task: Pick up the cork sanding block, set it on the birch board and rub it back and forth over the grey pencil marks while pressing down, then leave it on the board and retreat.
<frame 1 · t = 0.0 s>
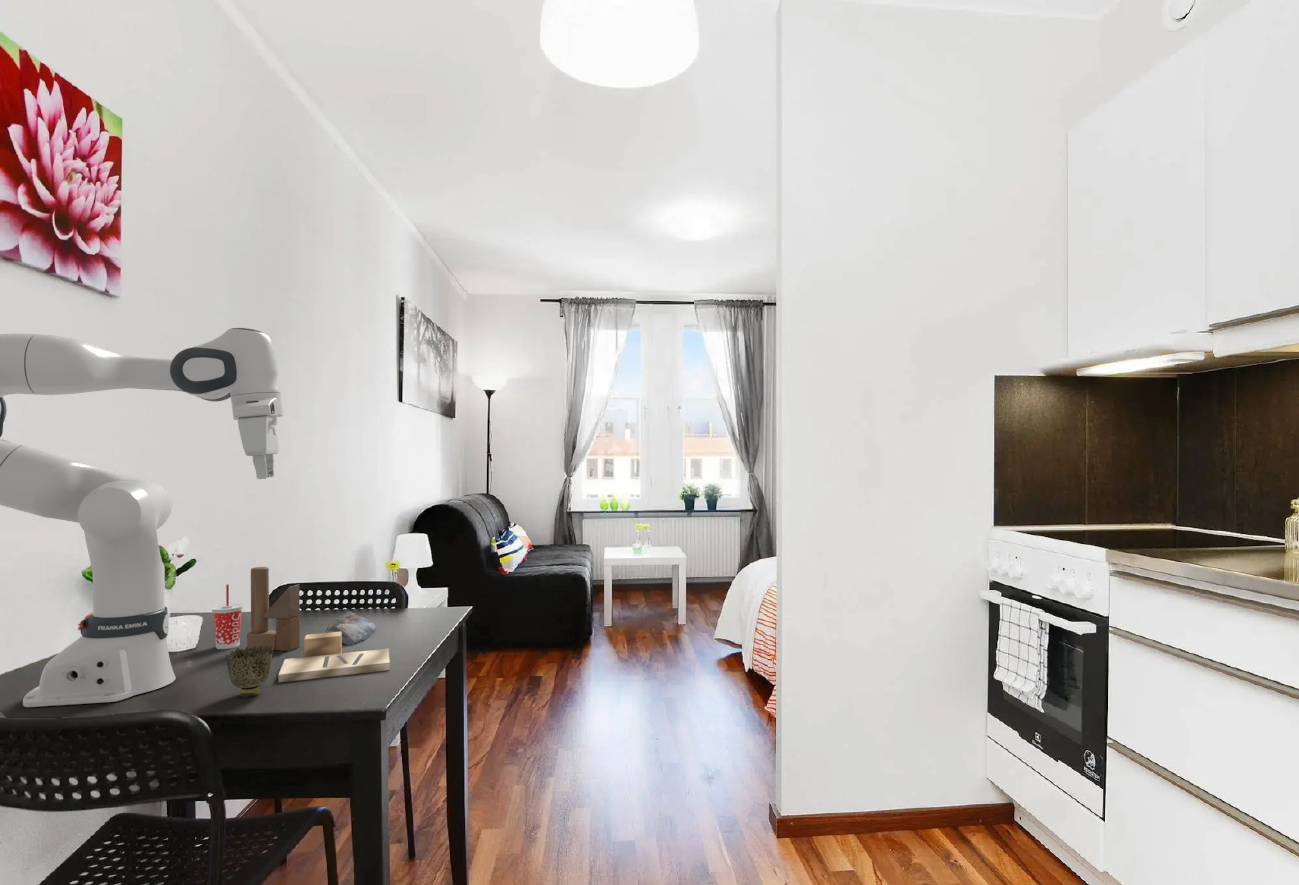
hand: (266, 478, 145), 39 cm above the table, tool pointing down, fingers open, 8 cm apart
board: (336, 668, 147), on the table
beverage cup: (227, 647, 165), on the table
stone: (351, 637, 173), on the table
cup: (250, 695, 132), on the table
wooden block: (273, 649, 162), on the table
sanding block: (323, 658, 154), on the table
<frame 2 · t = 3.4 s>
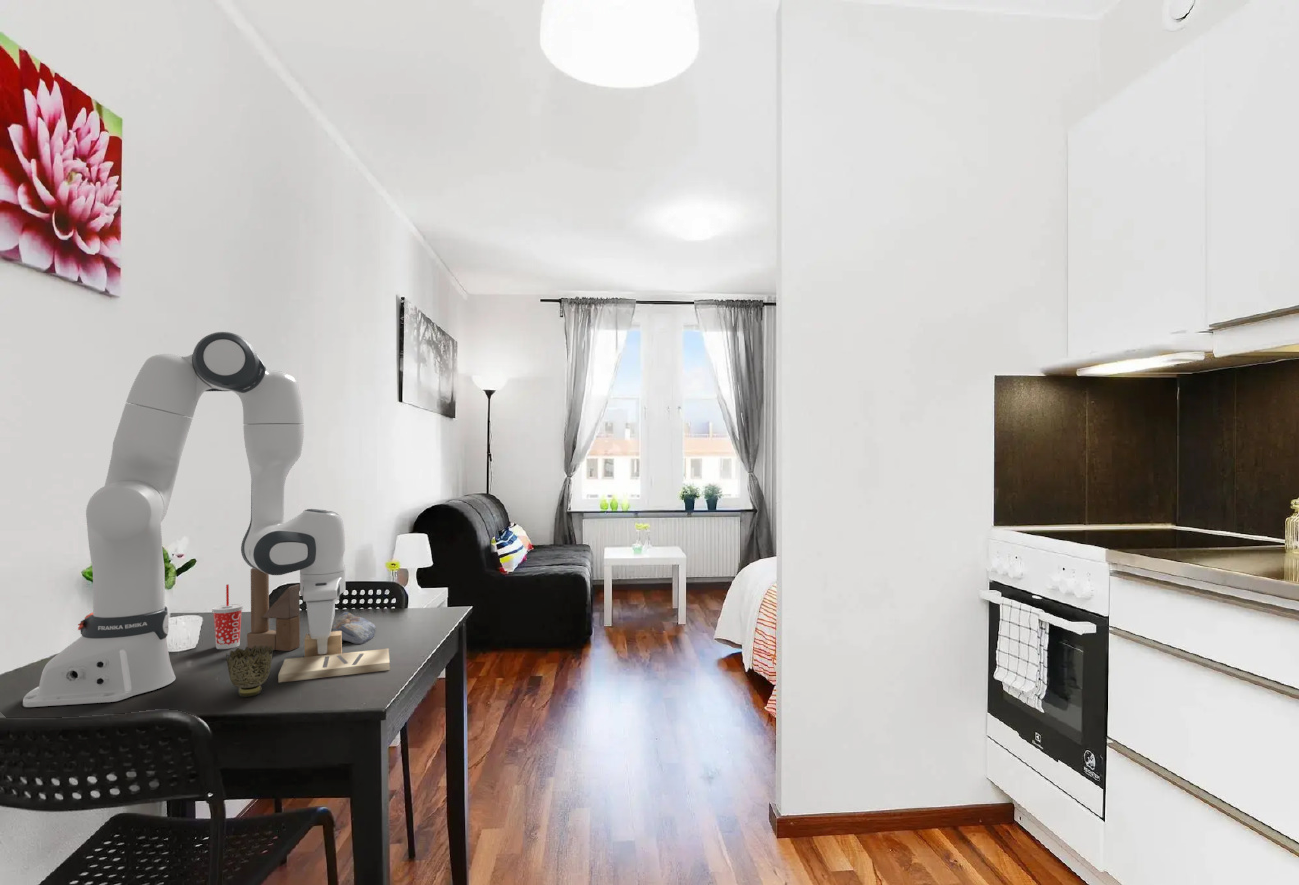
hand: (323, 649, 154), 2 cm above the table, tool pointing down, fingers closed on sanding block, 4 cm apart
sanding block: (323, 658, 154), on the table, touching gripper
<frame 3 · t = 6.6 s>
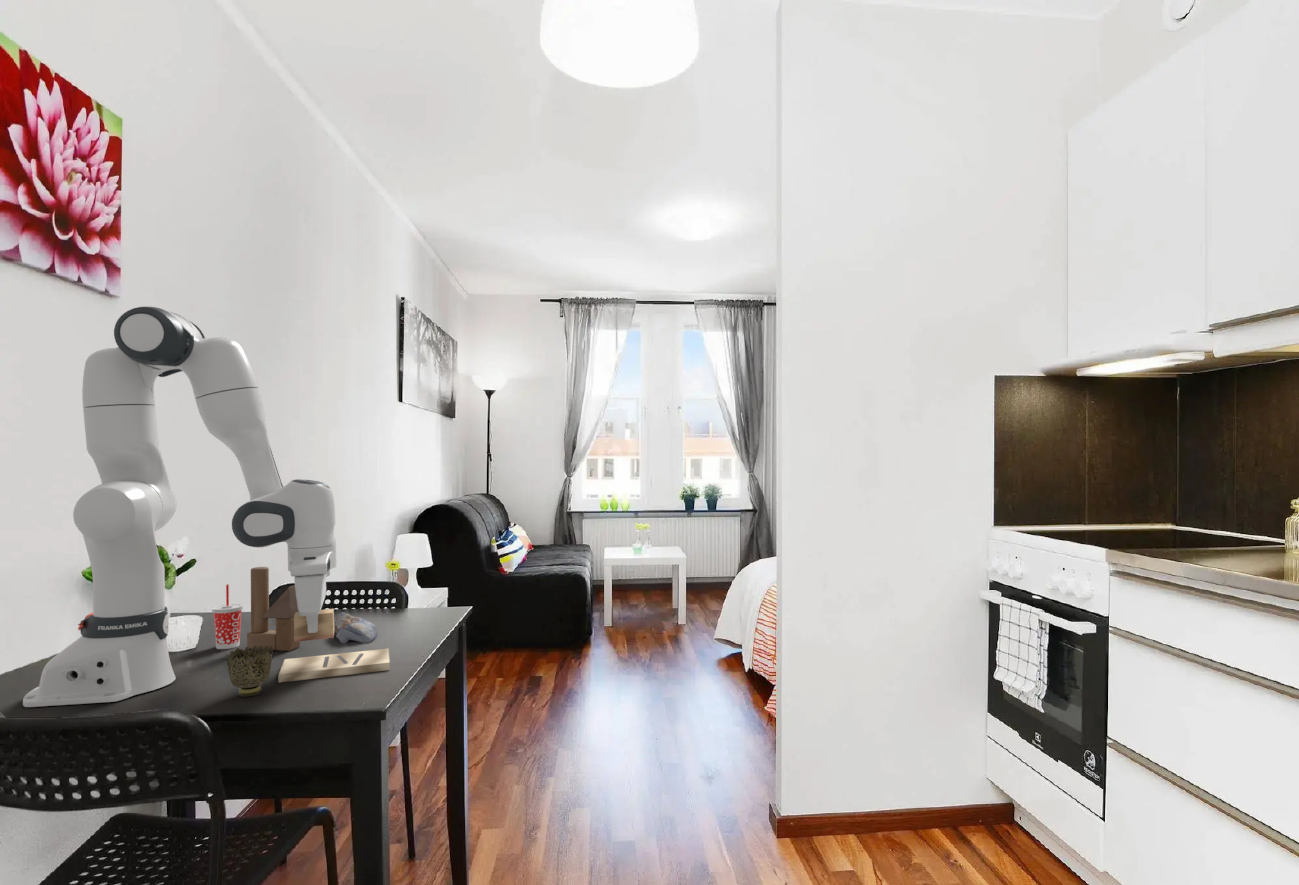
hand: (314, 628, 145), 8 cm above the table, tool pointing down, fingers closed on sanding block, 4 cm apart
sanding block: (314, 637, 145), point 7 cm above the table, touching gripper
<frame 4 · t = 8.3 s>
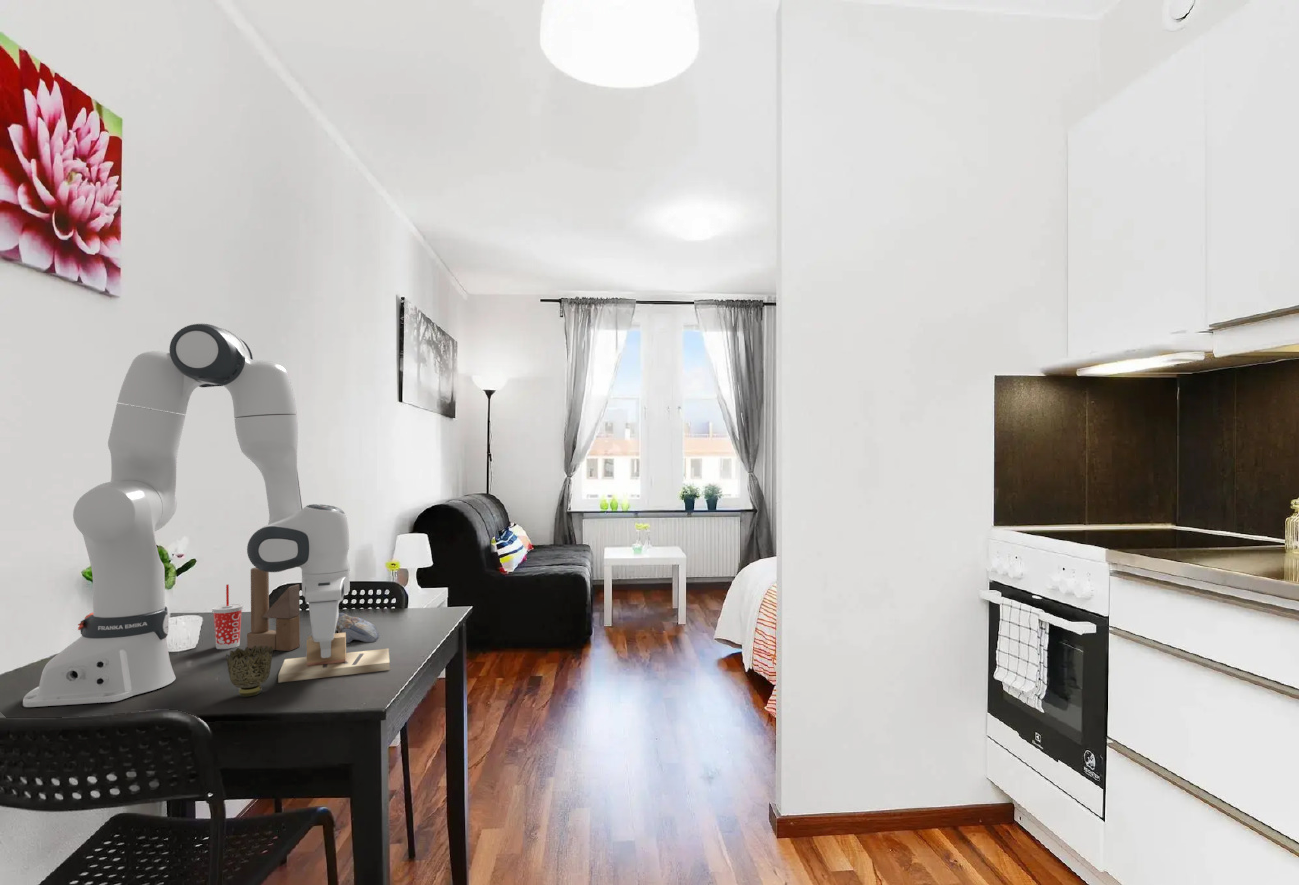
hand: (326, 653, 146), 3 cm above the table, tool pointing down, fingers closed on sanding block, 4 cm apart
sanding block: (326, 661, 146), point 2 cm above the table, touching gripper
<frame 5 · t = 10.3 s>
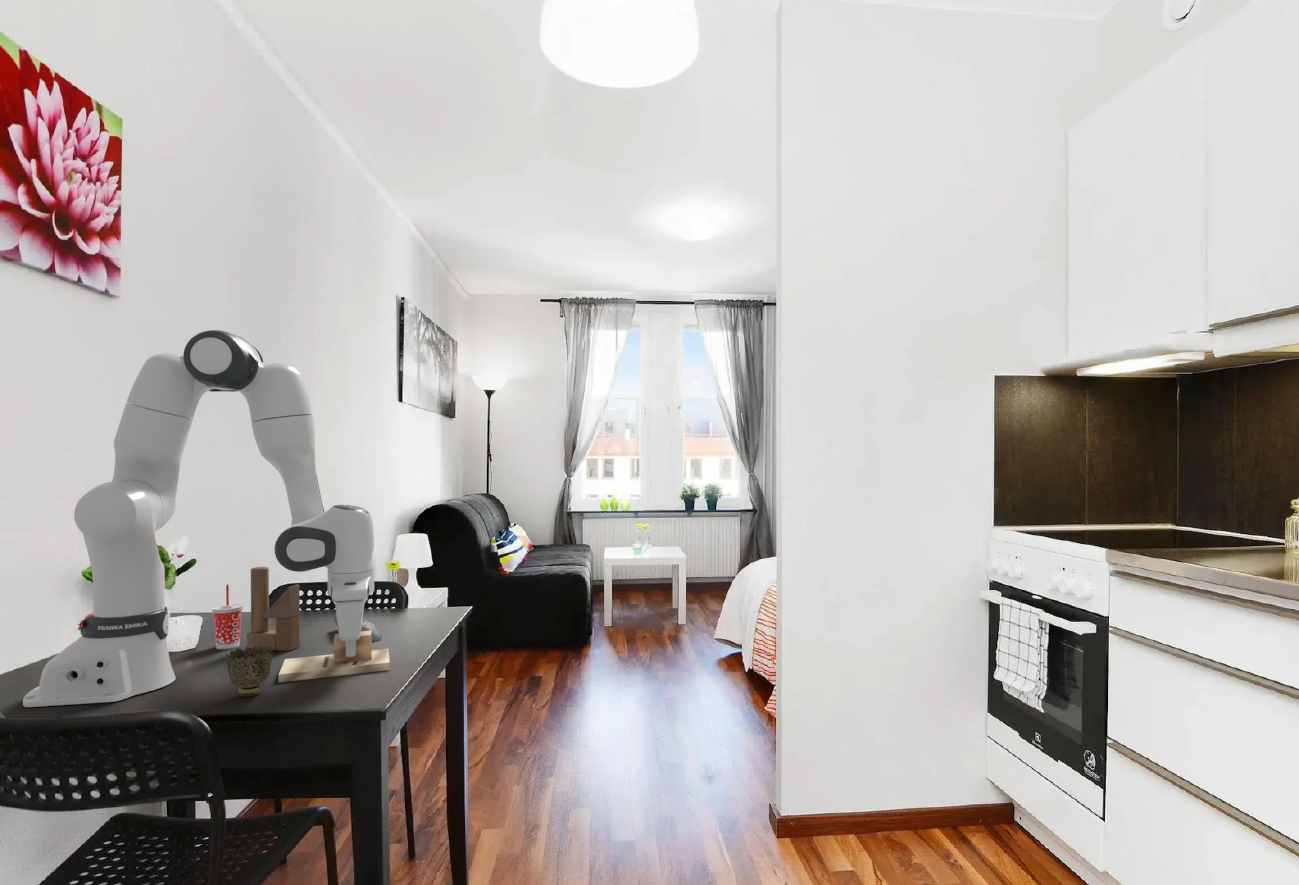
hand: (351, 652, 148), 3 cm above the table, tool pointing down, fingers closed on sanding block, 4 cm apart
sanding block: (353, 658, 148), point 2 cm above the table, touching gripper
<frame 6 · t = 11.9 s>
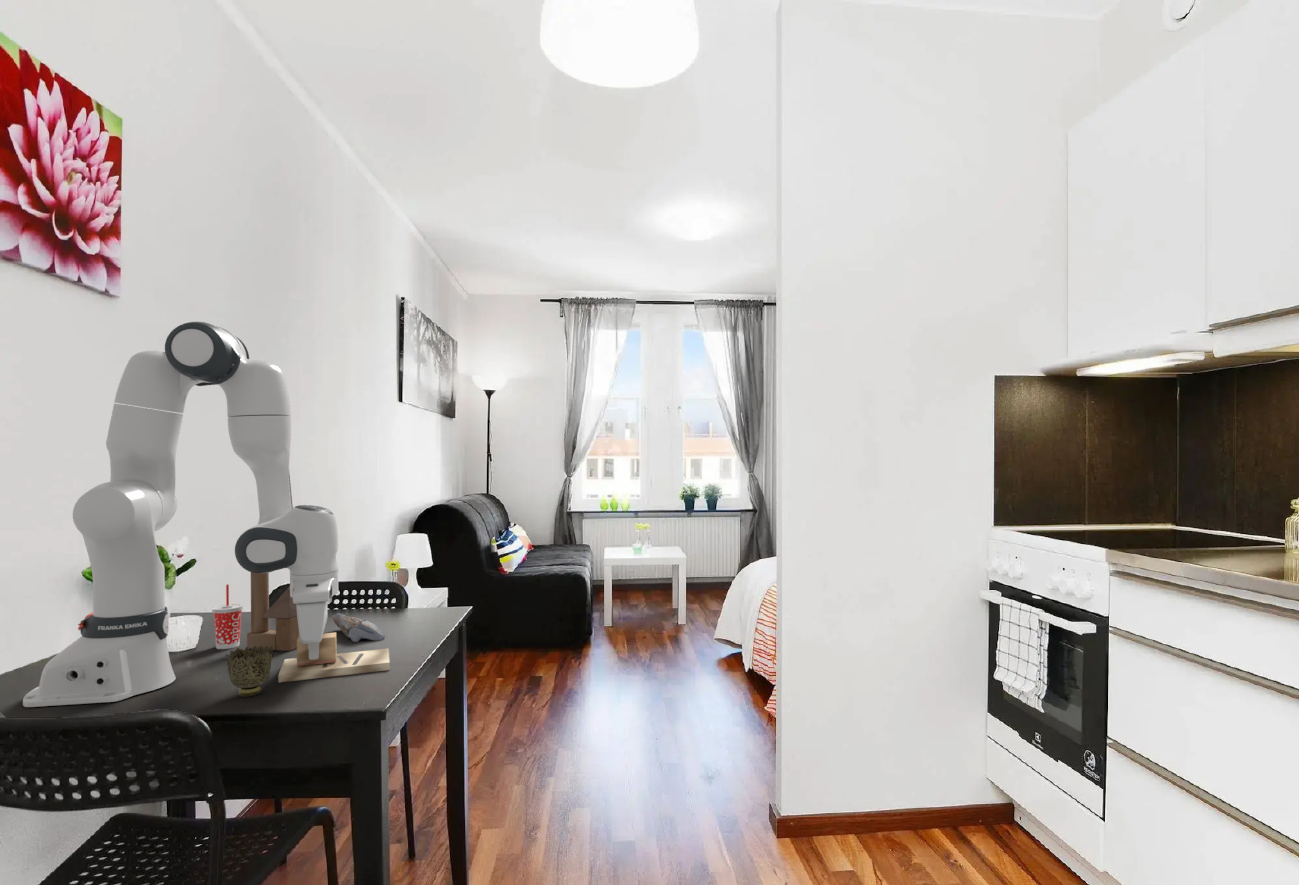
hand: (315, 654, 145), 3 cm above the table, tool pointing down, fingers closed on sanding block, 4 cm apart
sanding block: (317, 661, 146), point 2 cm above the table, touching gripper
when the fingers open (3 cm above the table, at t = 14.6 s): sanding block stays where it is, resting on board.
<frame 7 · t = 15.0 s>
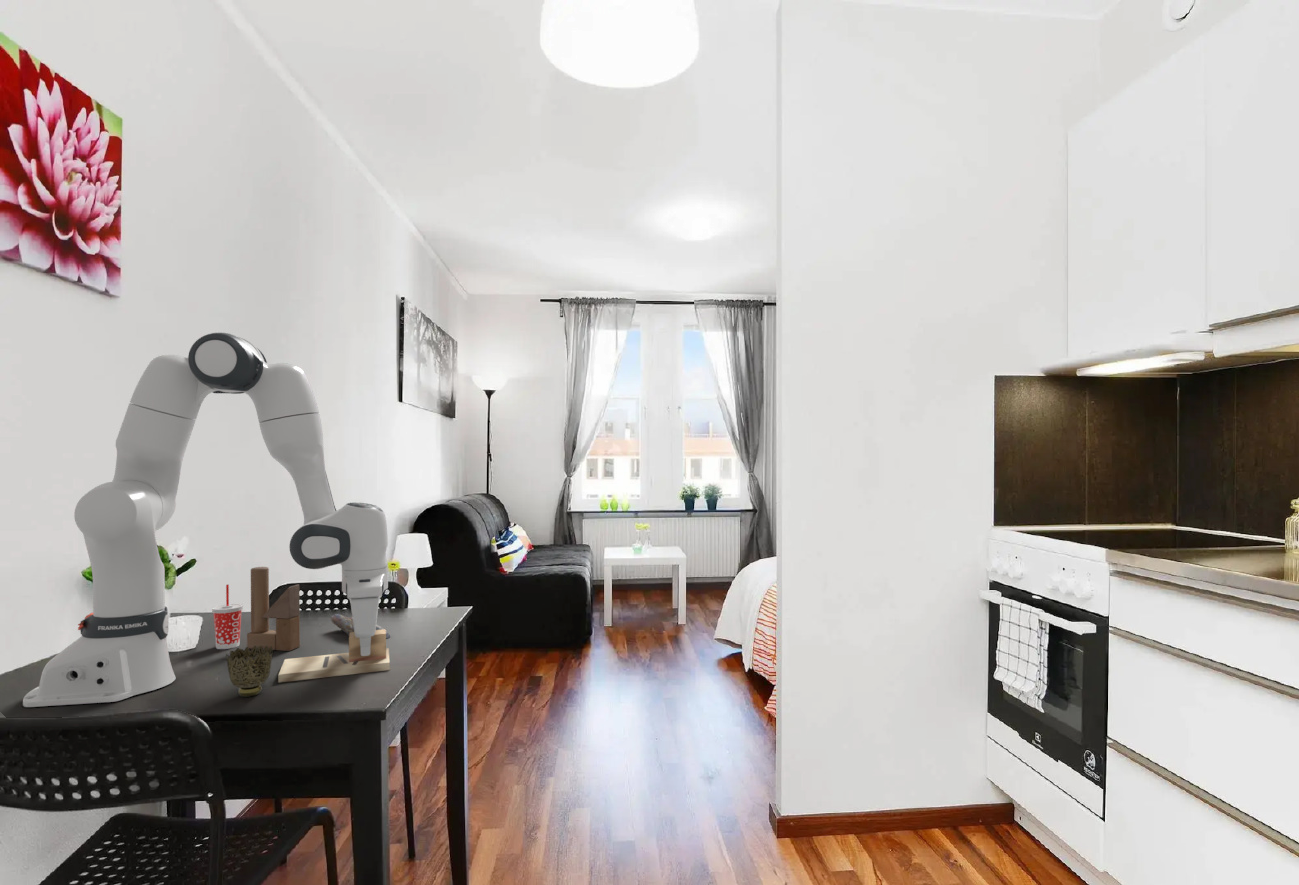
hand: (365, 648, 149), 3 cm above the table, tool pointing down, fingers open, 8 cm apart
sanding block: (367, 657, 149), point 2 cm above the table, touching board
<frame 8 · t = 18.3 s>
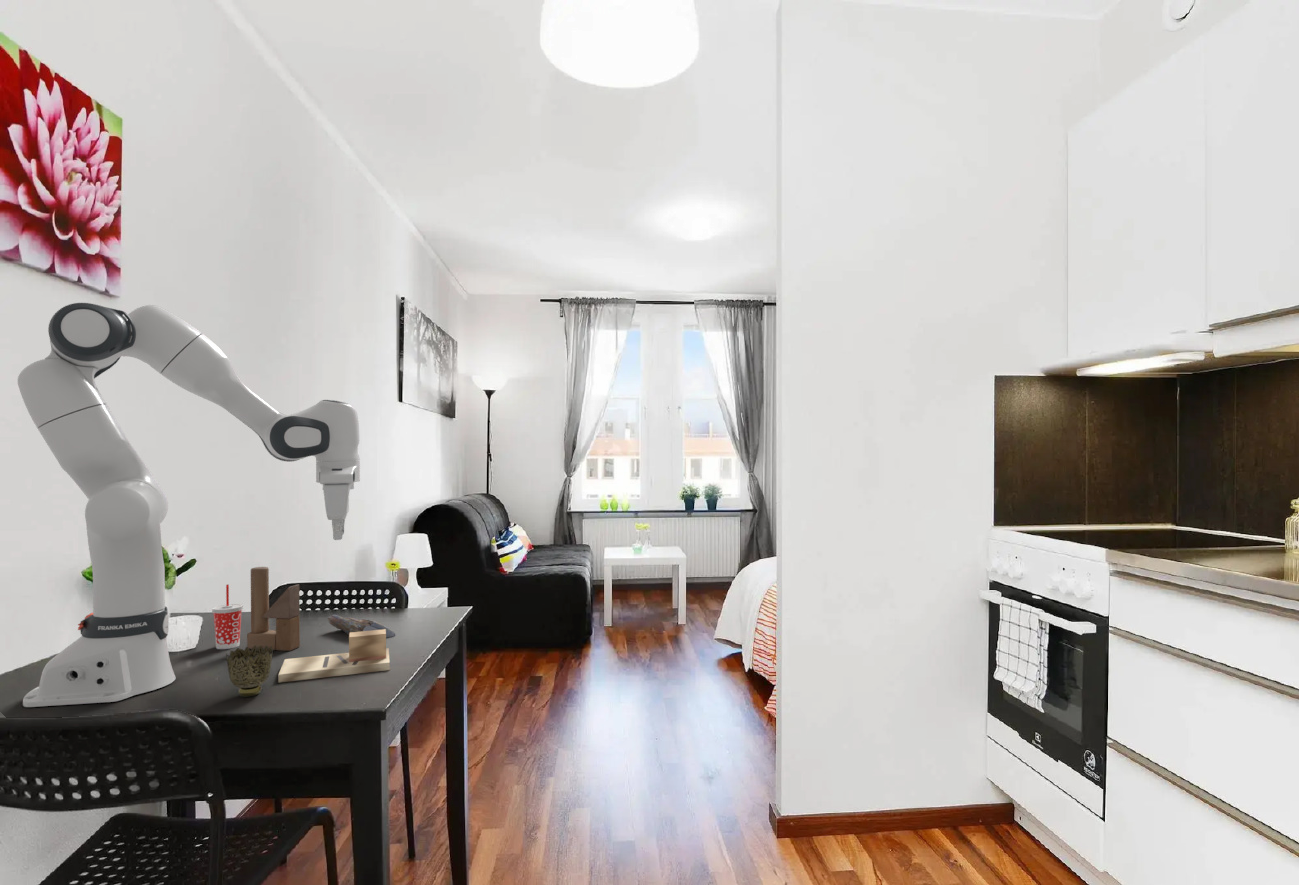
hand: (338, 537, 159), 25 cm above the table, tool pointing down, fingers open, 8 cm apart
at the end: sanding block inside the target area on the board (5.9 cm from its centre), point 1.5 cm above the board's base; sanding block moved 12.7 cm from its start; the gripper is holding nothing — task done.
